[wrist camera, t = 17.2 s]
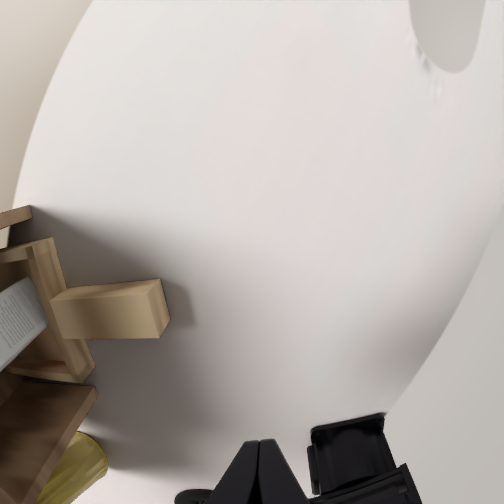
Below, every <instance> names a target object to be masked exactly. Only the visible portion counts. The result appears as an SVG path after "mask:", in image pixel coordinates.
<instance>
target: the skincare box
mask: <svg viewBox="0 0 504 504" xmlns="http://www.w3.org/2000/svg"><path fill="white" fill-rule="evenodd" d="M48 326H49V323H48V320H47V317H46V314H45V312H44V309H43V306H42V303H41V300H40V297H39V294H38V291H37V288H36V286H35V284H34V283H33V281H32V280H31V279H30V277H29V276H27V277H25V278H23V279H21V280H20V281H18V282H16V283H15V284H13V285H11V286H10V287H8V288H7V289H5V290H3V291H2V292H0V372H1V371H2V370H3V369H4V368H5V367H6V366H7V365H8V364H9V363H10V362H11V361H12V360H13V359H14V358H15V357H16V356H17V355H18V354H19V353H20V352H22V351H23V350H24V349H25V348H26V347H27V346H28V345H29V344H30V343H31V342H32V341H33V340H34V339H35V338H36V337H37V336H38V335H39V334H40V333H41V332H42V331H43V330H44V329H46V328H47V327H48Z"/></svg>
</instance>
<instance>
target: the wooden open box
mask: <svg viewBox="0 0 504 504" xmlns="http://www.w3.org/2000/svg"><path fill="white" fill-rule="evenodd" d="M30 218H32V214H31V210H30V205H27V206H24V207H20V208H16V209H13V210H9V211H6V212H2V213H0V229H2V228H5V227H8V226H11V225H13V224H16V223H19V222H22V221H25V220H27V219H30ZM97 397H98V393H97V391H96V389H95V387H94V386H74V385H58V384H46V383H35V382H25V381H23V380H22V378H21V376H20V375H18V374H13V373H7V371H6V369H5V368H4V369H3V370H2V371H1V372H0V504H35V503H36V501H37V499H38V497H39V495H40V493H41V492H42V490H43V488H44V486H45V484H46V483H47V481H48V479H49V477H50V476H51V474H52V472H53V470H54V468H55V467H56V465H57V463H58V462H59V460H60V458H61V456H62V455H63V453H64V451H65V450H66V448H67V446H68V444H69V443H70V441H71V439H72V438H73V436H74V434H75V433H76V431H77V429H78V428H79V426H80V424H81V423H82V421H83V420H84V418H85V416H86V415H87V413H88V411H89V410H90V408H91V407H92V405H93V403H94V402H95V400H96V399H97Z"/></svg>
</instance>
